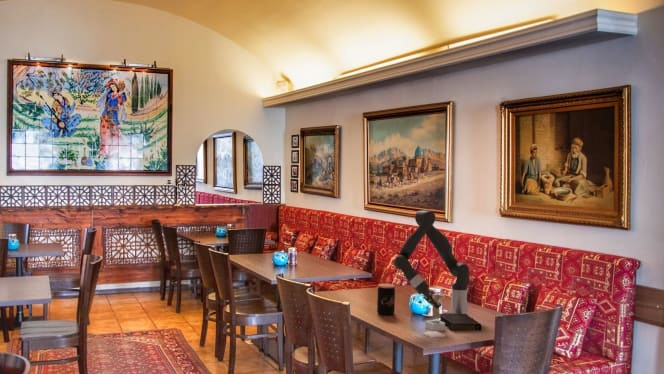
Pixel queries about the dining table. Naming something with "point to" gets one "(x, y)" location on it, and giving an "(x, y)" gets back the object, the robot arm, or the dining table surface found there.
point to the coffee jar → (386, 299)
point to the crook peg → (437, 300)
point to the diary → (459, 322)
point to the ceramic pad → (433, 334)
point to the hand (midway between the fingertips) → (439, 307)
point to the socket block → (435, 325)
